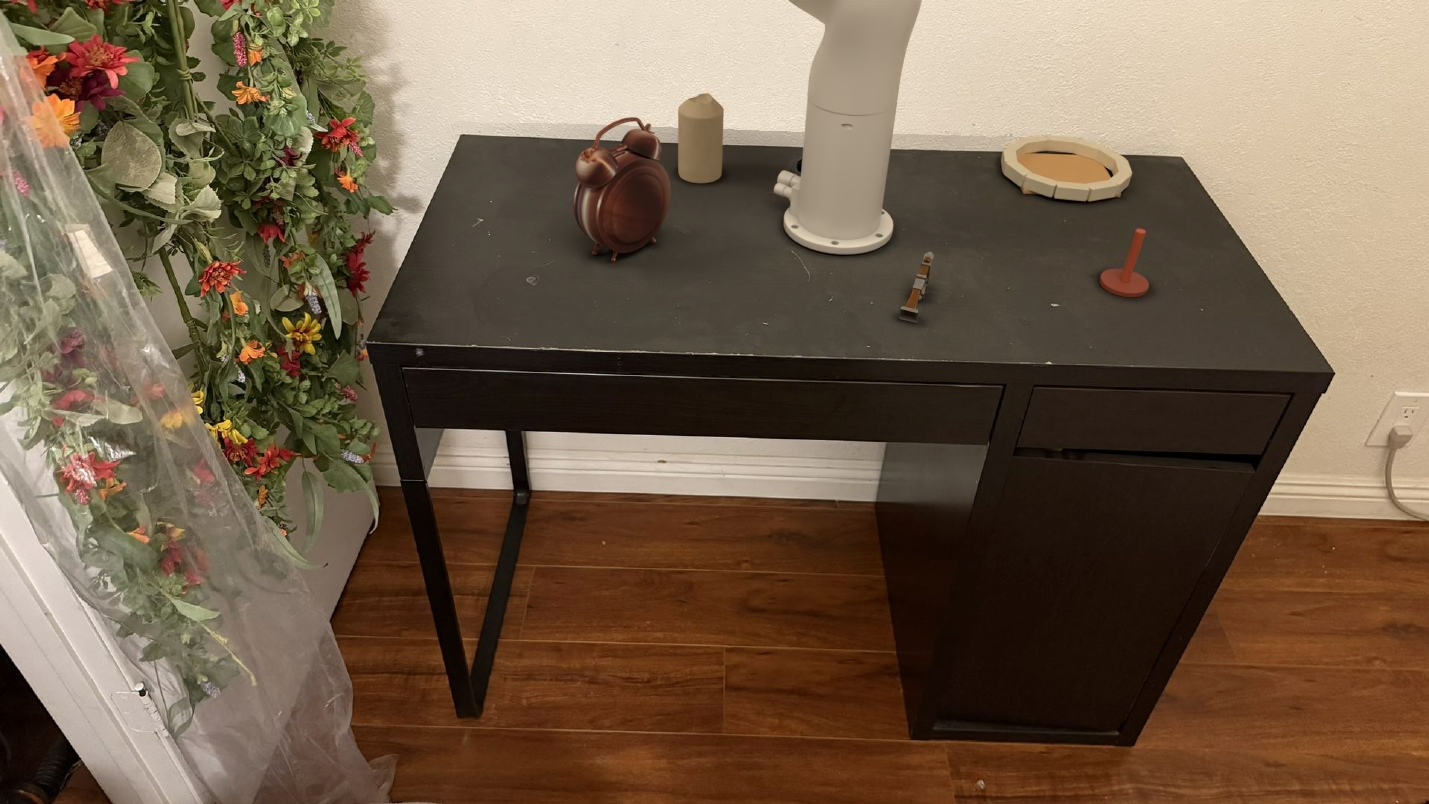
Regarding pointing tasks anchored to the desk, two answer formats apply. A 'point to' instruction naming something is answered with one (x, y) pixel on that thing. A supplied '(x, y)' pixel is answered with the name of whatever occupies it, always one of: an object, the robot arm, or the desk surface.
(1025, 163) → the mat
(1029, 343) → the desk surface
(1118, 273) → the post
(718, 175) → the candle
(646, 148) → the alarm clock
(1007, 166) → the ring
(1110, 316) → the desk surface
